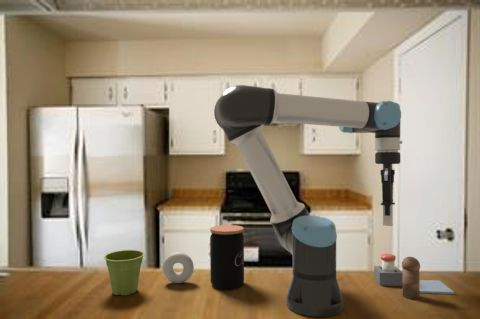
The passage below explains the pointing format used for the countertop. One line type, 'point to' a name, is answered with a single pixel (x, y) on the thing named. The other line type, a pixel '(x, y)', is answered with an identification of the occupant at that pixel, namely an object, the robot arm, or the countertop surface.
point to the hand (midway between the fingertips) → (387, 225)
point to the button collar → (388, 277)
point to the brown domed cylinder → (411, 278)
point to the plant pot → (124, 270)
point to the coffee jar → (227, 256)
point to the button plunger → (388, 262)
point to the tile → (434, 287)
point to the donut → (178, 276)
